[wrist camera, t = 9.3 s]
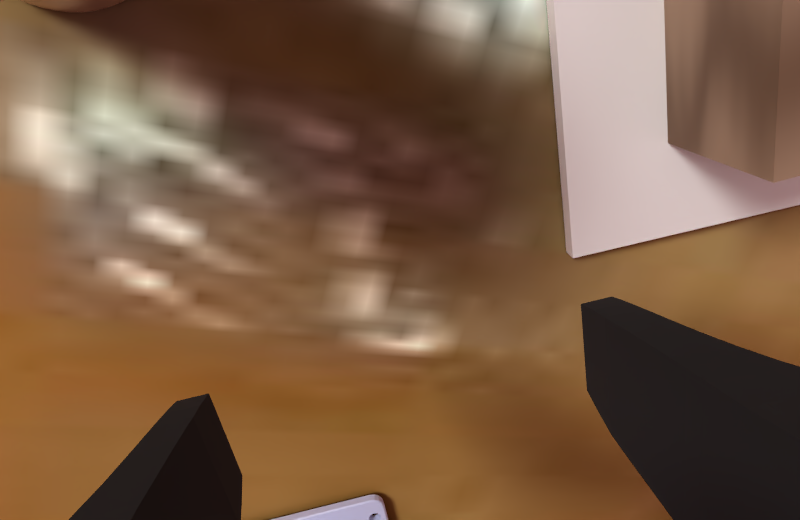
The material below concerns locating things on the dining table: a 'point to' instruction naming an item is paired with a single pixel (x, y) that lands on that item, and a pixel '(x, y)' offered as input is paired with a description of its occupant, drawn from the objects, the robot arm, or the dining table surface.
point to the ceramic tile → (633, 135)
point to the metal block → (735, 83)
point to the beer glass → (73, 4)
